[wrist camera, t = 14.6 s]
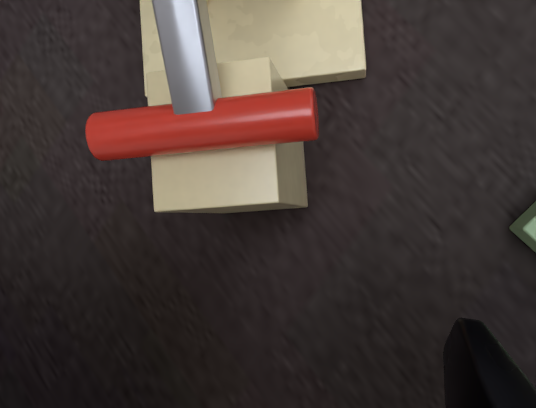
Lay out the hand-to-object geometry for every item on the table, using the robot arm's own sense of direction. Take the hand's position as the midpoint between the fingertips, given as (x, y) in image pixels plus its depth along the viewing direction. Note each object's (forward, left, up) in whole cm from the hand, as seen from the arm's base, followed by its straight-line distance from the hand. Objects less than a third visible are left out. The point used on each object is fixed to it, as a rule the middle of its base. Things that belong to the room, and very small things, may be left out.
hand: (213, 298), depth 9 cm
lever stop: (+2, +4, -11) cm, 12 cm away
